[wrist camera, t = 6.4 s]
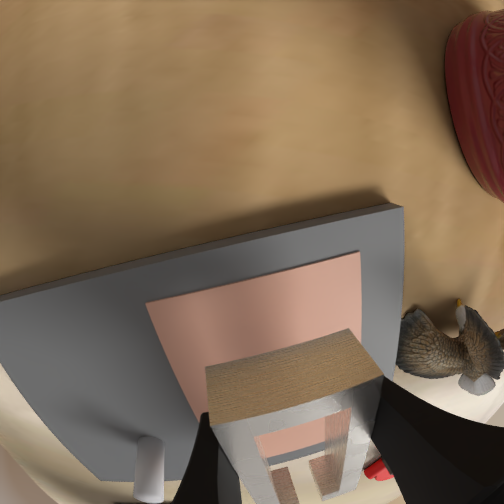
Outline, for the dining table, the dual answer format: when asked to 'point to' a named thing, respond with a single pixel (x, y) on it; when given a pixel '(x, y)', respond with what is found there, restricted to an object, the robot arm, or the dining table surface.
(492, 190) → the canister
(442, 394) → the dining table surface
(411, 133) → the dining table surface
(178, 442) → the post board
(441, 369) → the eagle figurine
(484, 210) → the dining table surface
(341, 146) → the dining table surface
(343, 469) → the c link
